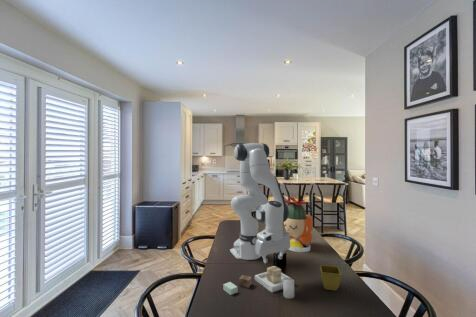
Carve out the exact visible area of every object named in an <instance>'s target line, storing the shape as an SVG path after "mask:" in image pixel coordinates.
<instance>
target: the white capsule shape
mask: <svg viewBox="0 0 476 317" xmlns="http://www.w3.org/2000/svg"><path fill="white" fill-rule="evenodd" d="M282 290H283V291H282V292H283V293H282V295H283V297H284V298H285V299H287V300H288V299H294V298H295V296H296V295H295V293H296V292H295V279H294V278H292V277H290V278H284V279H283V289H282Z"/></svg>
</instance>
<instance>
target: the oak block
mask: <svg viewBox="0 0 476 317" xmlns="http://www.w3.org/2000/svg"><path fill="white" fill-rule="evenodd" d="M266 272H267V280H268V281H270V282H271V283H273V284H275V283H278V282H281V273H282V269H281V268H280V267H278V266H276V265H272V266H268V267H266Z"/></svg>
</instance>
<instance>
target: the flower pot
mask: <svg viewBox="0 0 476 317" xmlns="http://www.w3.org/2000/svg"><path fill="white" fill-rule="evenodd" d="M319 269H320V270H319V271H320V278H321V282H322V286H323V288H324V290H327V291H328V290H329V291H334V292H335V291H338V290H339V287H340V285H341V280H342V272H341V270H340V267H339V266H334V265H325V264H324V265H323V264H320V265H319Z"/></svg>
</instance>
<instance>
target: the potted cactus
mask: <svg viewBox="0 0 476 317" xmlns="http://www.w3.org/2000/svg"><path fill="white" fill-rule="evenodd" d="M288 199H289V200H284V201H285V203H287V204H289V205H287V207H288V209H289V217H288V219H287V220H286V221H285V222H283V228H284V229H285V231H287V232H289V234H290V235H289V238H290V248H289V249H288V250H289V251H293V252H296V253H309V252H310V250H311V244H310V243H311V242H312V241H313V234H312V231H313V225H314V219H313V216H312V215H310V214H307V212H306V209H305V207H304V205H306V204H307V202H306V201H305V199H301V200H299V199H296V198H294V197H292V196H288ZM298 238H299V239H298ZM304 246H306V247H304Z"/></svg>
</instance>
